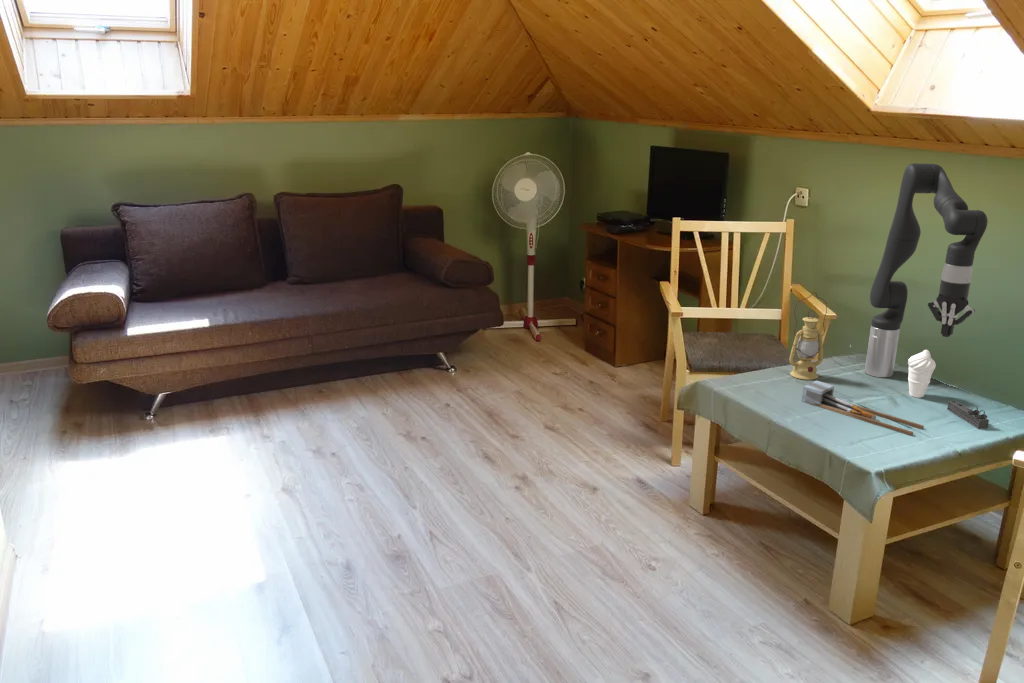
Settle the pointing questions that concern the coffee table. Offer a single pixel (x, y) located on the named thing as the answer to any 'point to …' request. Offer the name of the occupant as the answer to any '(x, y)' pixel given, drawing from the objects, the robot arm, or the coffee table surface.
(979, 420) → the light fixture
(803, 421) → the coffee table surface
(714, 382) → the coffee table surface
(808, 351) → the lantern
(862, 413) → the chisel
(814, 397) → the holder
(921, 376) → the soft serve ice cream cone
